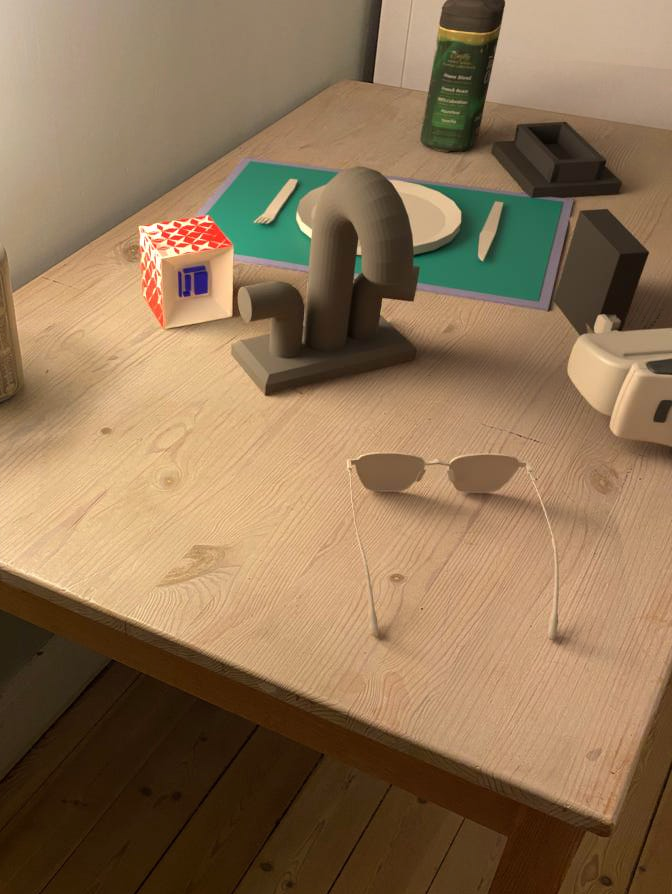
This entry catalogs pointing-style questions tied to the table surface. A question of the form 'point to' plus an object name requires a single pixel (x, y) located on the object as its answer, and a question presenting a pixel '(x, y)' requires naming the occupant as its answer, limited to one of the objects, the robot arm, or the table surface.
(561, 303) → the upright pad
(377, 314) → the faucet
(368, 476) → the eyeglasses
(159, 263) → the patterned open box
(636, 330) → the robot arm
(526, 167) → the base pad
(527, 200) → the place mat
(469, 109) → the coffee jar
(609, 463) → the table surface
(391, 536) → the table surface
